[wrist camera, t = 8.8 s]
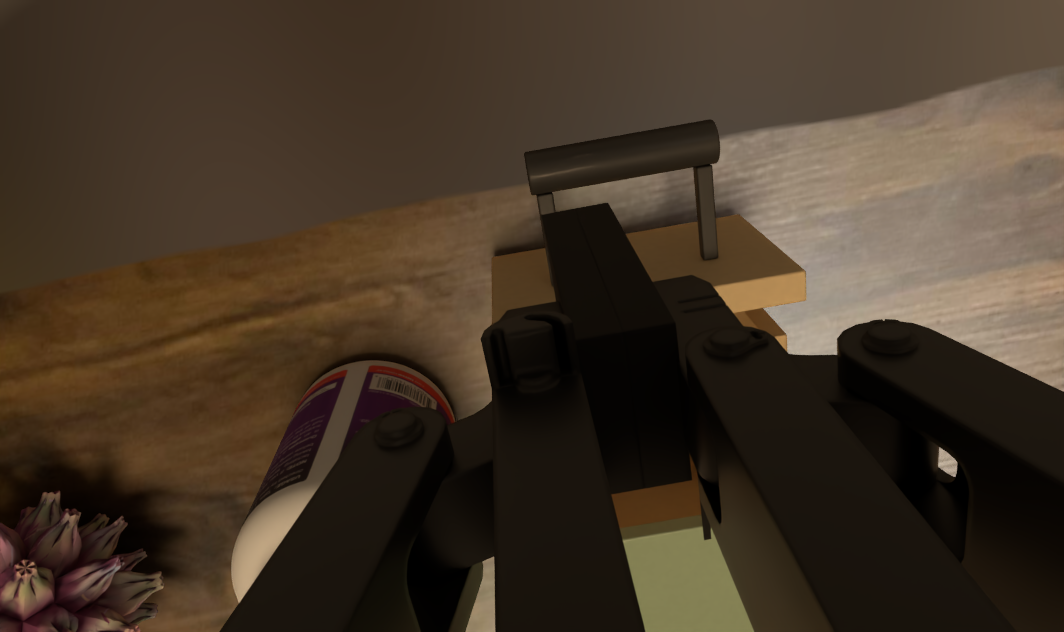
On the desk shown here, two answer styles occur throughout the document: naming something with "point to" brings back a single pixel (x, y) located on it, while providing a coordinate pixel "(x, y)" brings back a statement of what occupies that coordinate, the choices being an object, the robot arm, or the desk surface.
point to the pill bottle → (322, 450)
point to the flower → (70, 574)
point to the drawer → (658, 257)
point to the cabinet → (682, 578)
